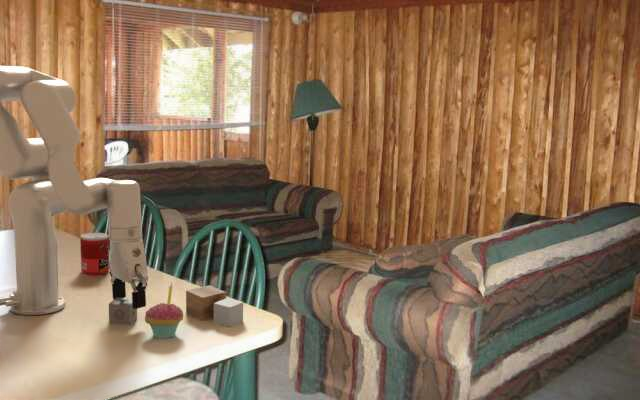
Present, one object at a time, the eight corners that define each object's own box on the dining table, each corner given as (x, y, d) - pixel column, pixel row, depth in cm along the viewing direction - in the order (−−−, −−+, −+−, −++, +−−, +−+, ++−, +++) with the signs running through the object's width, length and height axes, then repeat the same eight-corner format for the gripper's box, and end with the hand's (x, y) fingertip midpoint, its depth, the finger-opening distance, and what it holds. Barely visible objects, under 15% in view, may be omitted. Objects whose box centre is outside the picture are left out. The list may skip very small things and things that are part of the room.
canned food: (104, 276, 201) (103, 239, 199) (77, 274, 201) (76, 237, 199) (113, 268, 208) (112, 233, 206) (86, 267, 208) (85, 232, 206)
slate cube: (229, 327, 164) (230, 307, 163) (213, 323, 167) (213, 303, 166) (242, 321, 168) (243, 302, 167) (226, 317, 171) (227, 297, 170)
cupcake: (167, 325, 164) (167, 276, 162) (191, 334, 158) (191, 284, 156) (137, 335, 157) (136, 283, 155) (160, 345, 152) (160, 292, 150)
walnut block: (202, 321, 168) (202, 297, 166) (186, 313, 172) (186, 290, 171) (225, 315, 172) (226, 292, 171) (209, 307, 177) (209, 285, 176)
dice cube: (137, 318, 168) (136, 298, 167) (129, 325, 163) (129, 305, 162) (117, 317, 168) (116, 297, 167) (109, 324, 163) (108, 303, 162)
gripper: (158, 236, 160) (161, 307, 163) (122, 225, 172) (126, 291, 175) (128, 241, 155) (132, 315, 158) (93, 229, 167) (97, 298, 170)
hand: (129, 302), depth 166 cm, fingers open, 9 cm apart
